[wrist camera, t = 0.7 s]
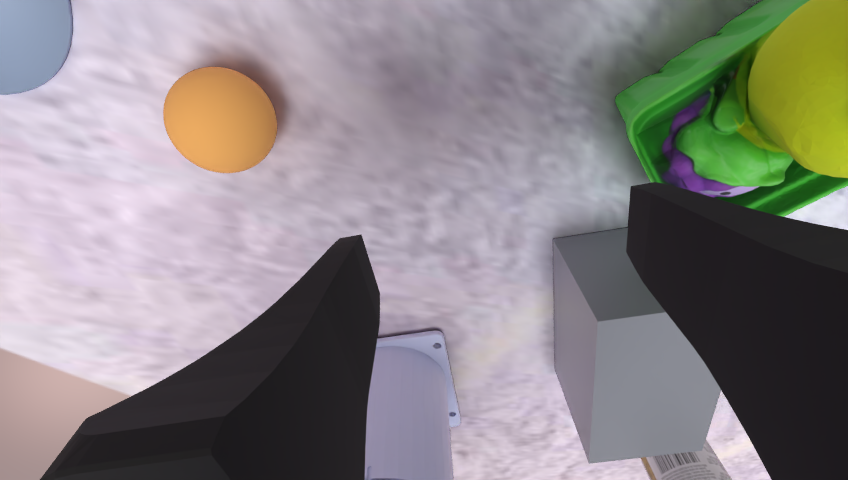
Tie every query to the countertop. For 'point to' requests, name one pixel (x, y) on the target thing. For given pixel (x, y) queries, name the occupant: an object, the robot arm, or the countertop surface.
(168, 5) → the countertop surface
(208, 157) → the ball
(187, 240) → the countertop surface
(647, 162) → the fruit basket
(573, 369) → the grey rectangular block
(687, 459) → the spice jar
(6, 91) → the disc
